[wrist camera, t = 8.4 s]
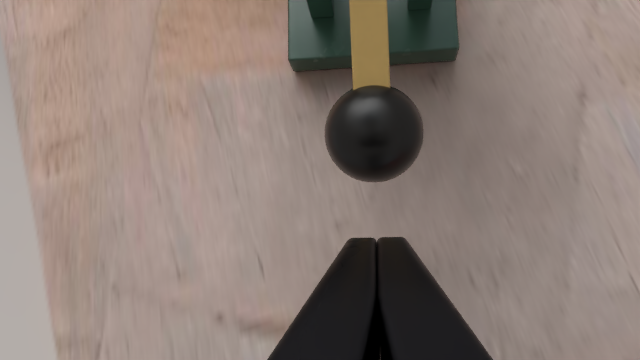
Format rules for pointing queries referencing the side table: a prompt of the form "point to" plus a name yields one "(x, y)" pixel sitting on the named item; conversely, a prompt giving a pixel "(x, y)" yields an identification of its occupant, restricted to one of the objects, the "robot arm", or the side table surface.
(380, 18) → the lever
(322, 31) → the switch bracket
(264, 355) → the side table surface
